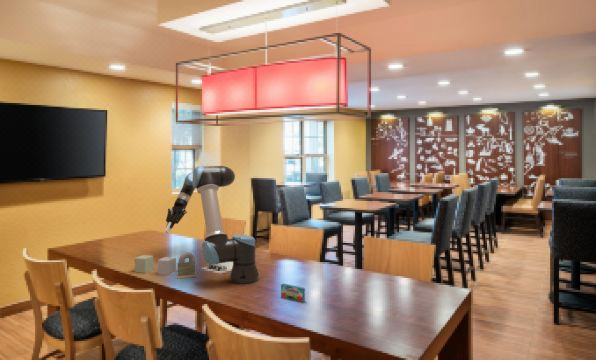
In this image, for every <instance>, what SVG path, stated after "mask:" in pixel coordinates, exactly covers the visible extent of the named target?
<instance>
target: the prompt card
mask: <svg viewBox="0 0 596 360" xmlns="http://www.w3.org/2000/svg"><path fill="white" fill-rule="evenodd" d="M197 276H198V275H197V272H196V260H195V261H191V262H189V261H185V262H180V263H179V262H177V274H176V279H177V280H179V279H181V280H182V279H190V278H197Z"/></svg>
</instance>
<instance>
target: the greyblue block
mask: <svg viewBox="0 0 596 360" xmlns="http://www.w3.org/2000/svg"><path fill="white" fill-rule="evenodd" d="M175 273H177V258H176V257H171V256H164V257H162V258H160V259H157V275H159V276H162V275H163V276H171V275H173V274H175Z"/></svg>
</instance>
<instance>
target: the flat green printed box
mask: <svg viewBox="0 0 596 360" xmlns="http://www.w3.org/2000/svg"><path fill="white" fill-rule="evenodd" d="M305 290H306V287H301V286H298V285H294V284H293V285H292V284H288V283H281V284H280V297H281V298H282V297H283V299H286V300H292V301H295V300H296V302H299V301H300V303H304V302H305V299H306V293H305Z"/></svg>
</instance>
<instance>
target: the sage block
mask: <svg viewBox="0 0 596 360" xmlns="http://www.w3.org/2000/svg"><path fill="white" fill-rule="evenodd" d="M154 269H155V268H154V255H148V254H147V255H145V254H142V255H139V256H136V257H134V273H140V274H141V273H142V274H147V273H149V272H151V271H154Z"/></svg>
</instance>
